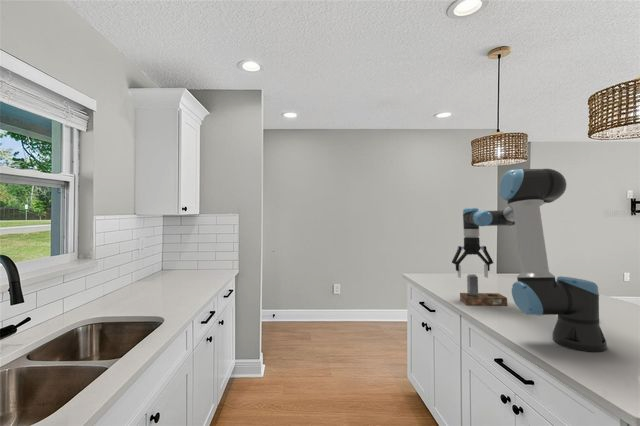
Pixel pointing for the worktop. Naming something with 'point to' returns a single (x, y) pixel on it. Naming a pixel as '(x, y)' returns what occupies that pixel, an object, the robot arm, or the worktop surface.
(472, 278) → the plug
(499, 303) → the socket block
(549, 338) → the worktop surface
